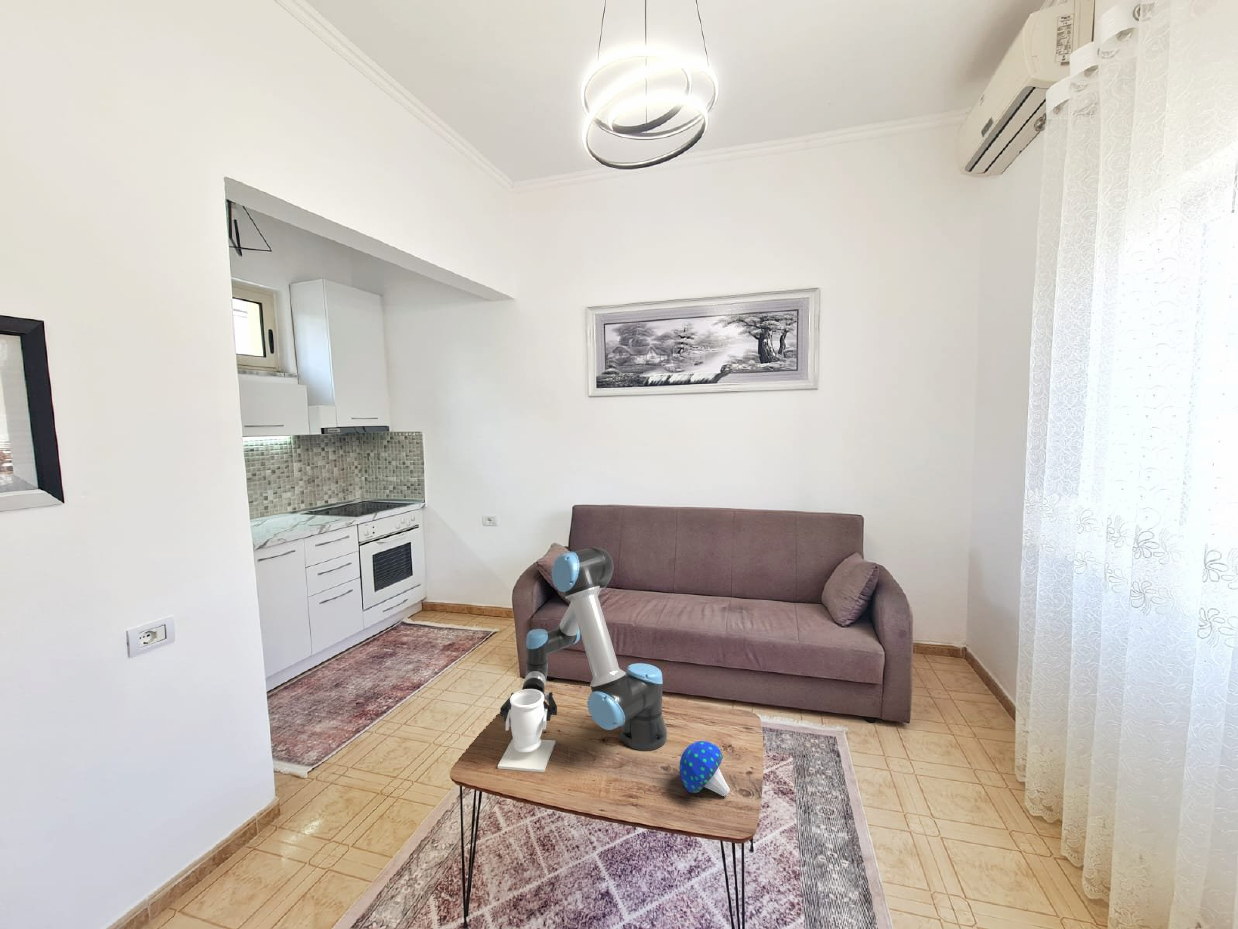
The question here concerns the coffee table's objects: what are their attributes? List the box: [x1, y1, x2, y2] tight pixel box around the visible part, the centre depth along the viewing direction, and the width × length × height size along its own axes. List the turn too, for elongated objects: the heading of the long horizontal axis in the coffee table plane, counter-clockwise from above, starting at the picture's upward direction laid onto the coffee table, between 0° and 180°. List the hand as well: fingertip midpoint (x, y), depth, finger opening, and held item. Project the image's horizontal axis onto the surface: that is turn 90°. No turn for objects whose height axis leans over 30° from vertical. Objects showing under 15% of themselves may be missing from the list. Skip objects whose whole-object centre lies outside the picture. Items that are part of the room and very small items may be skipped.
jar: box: [510, 689, 545, 752], centre depth 151 cm, size 11×10×15 cm
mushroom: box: [679, 740, 731, 798], centre depth 137 cm, size 14×14×15 cm
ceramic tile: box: [497, 737, 556, 773], centre depth 151 cm, size 14×14×1 cm
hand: (525, 725), depth 146 cm, fingers closed on jar, 10 cm apart
